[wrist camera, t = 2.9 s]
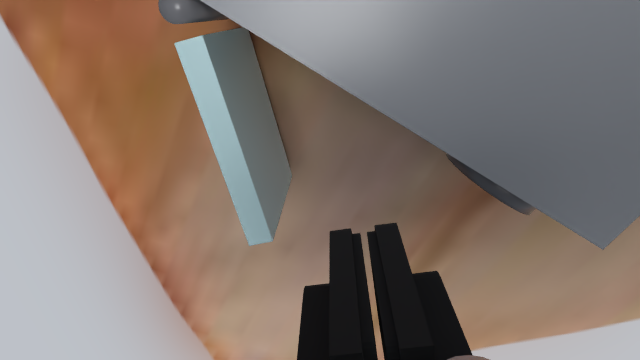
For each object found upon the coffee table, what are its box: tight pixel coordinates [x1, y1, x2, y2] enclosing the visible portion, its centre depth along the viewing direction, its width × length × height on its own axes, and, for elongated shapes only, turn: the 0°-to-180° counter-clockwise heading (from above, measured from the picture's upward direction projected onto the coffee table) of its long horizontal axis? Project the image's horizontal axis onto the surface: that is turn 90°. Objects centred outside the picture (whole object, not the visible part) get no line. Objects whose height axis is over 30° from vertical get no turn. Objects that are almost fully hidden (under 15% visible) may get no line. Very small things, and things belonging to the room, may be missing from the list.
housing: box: [159, 0, 640, 249], centre depth 16 cm, size 18×9×9 cm, turn 59°
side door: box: [174, 27, 292, 246], centre depth 18 cm, size 8×2×7 cm, turn 14°
